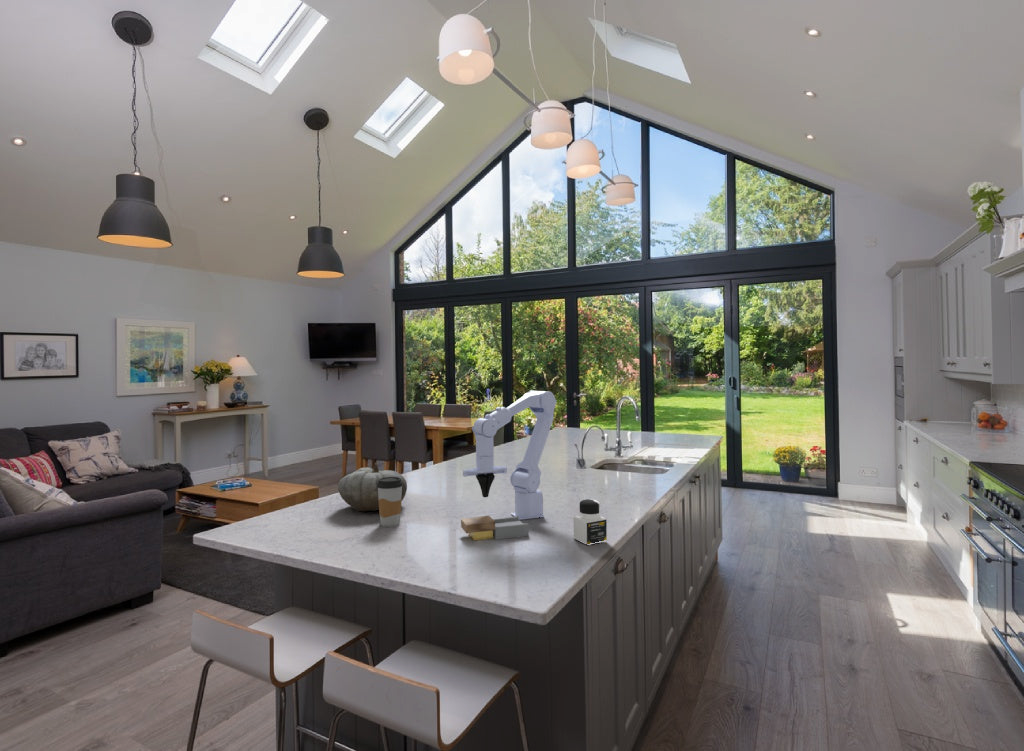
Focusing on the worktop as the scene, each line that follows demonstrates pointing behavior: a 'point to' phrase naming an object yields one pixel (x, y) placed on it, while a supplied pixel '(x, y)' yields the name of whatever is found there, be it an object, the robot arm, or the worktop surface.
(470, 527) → the cover
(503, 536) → the grey piece
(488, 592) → the worktop surface
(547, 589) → the worktop surface
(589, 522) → the medicine bottle
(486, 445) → the robot arm
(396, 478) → the coffee cup
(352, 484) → the gourd
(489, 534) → the yellow square tray
